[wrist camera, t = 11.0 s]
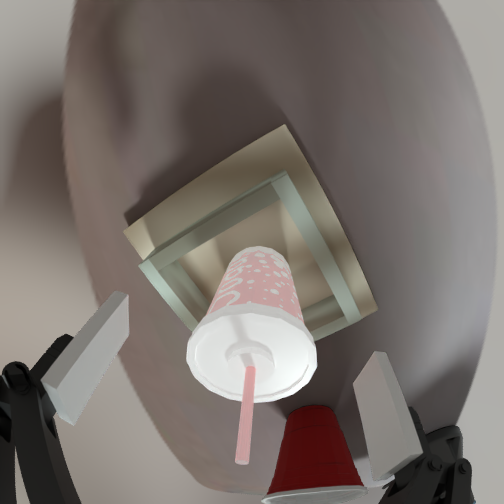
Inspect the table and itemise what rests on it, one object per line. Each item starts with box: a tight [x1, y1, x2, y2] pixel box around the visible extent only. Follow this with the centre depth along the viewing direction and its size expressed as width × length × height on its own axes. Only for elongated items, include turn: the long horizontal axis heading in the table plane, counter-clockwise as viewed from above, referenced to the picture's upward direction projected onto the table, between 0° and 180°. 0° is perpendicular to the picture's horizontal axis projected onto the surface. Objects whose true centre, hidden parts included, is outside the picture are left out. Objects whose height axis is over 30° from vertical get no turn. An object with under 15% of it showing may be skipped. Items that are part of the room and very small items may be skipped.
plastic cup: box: [261, 405, 368, 504], centre depth 23 cm, size 11×11×12 cm
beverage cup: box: [186, 246, 317, 465], centre depth 14 cm, size 6×6×14 cm
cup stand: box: [123, 124, 378, 342], centre depth 19 cm, size 16×14×4 cm
